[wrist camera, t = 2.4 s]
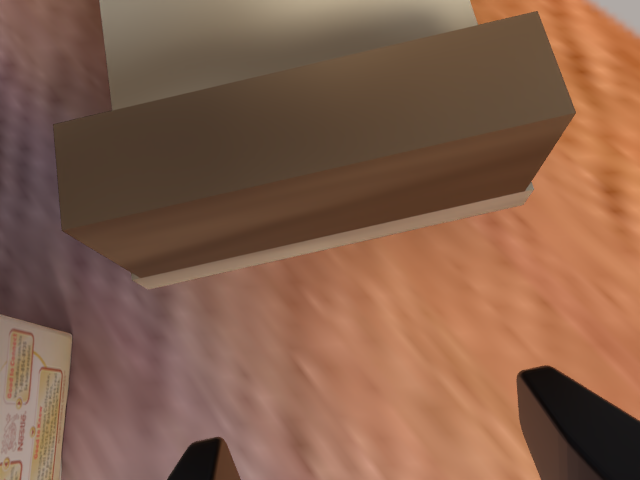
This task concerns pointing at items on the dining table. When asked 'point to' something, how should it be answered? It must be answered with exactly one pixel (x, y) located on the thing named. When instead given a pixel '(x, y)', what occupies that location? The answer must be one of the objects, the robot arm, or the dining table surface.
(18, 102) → the dining table surface
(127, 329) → the dining table surface
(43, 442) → the coffeecake box
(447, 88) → the birch lid
